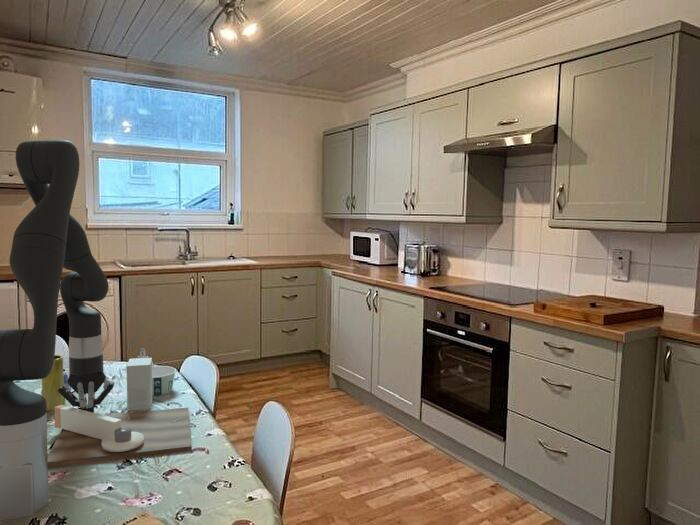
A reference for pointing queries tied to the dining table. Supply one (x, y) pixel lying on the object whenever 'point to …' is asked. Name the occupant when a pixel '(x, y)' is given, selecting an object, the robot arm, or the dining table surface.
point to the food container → (162, 379)
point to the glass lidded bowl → (144, 355)
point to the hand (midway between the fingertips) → (87, 421)
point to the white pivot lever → (98, 428)
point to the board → (157, 427)
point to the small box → (139, 384)
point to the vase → (54, 385)
